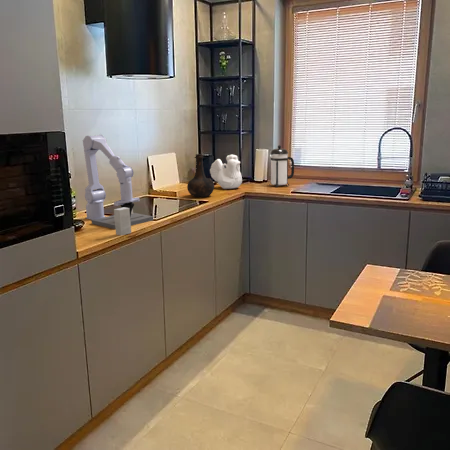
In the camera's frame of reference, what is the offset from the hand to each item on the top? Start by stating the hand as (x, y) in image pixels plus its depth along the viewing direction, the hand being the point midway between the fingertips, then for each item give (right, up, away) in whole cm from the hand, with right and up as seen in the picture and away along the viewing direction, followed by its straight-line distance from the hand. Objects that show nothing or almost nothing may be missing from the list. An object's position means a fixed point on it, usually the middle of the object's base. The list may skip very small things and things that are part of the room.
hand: (128, 217), depth 234 cm
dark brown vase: (+33, +15, +73) cm, 82 cm away
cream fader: (-3, +2, +12) cm, 13 cm away
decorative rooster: (+50, +23, +105) cm, 118 cm away
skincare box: (+2, -8, -20) cm, 21 cm away
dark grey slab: (-4, -2, +4) cm, 6 cm away
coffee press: (+90, +25, +110) cm, 144 cm away
